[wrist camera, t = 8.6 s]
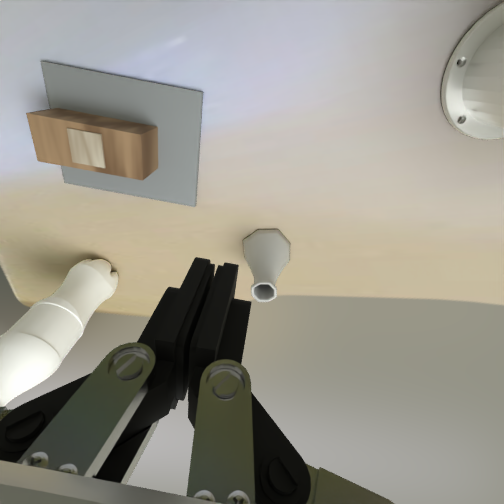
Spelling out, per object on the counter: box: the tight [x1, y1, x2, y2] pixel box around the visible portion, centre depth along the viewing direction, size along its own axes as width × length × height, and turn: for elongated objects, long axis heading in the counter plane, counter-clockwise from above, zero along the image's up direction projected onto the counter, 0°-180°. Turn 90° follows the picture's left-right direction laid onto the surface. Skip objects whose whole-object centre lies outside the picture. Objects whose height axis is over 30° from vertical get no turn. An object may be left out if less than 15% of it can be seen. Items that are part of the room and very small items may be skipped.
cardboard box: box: [26, 108, 158, 181], centre depth 33 cm, size 5×5×12 cm
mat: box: [41, 61, 203, 207], centre depth 36 cm, size 18×14×1 cm
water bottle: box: [0, 259, 118, 407], centre depth 37 cm, size 7×7×25 cm
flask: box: [243, 229, 290, 302], centre depth 39 cm, size 7×7×10 cm
